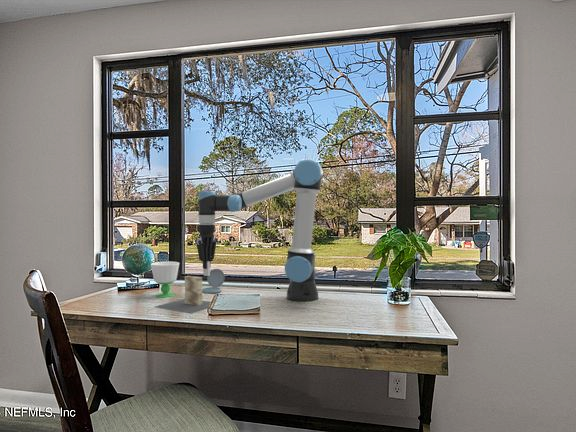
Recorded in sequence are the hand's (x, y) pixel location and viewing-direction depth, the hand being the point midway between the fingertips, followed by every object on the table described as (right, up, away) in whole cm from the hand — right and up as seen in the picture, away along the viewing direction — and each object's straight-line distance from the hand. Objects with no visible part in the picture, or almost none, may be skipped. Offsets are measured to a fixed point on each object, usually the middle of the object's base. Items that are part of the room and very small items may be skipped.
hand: (206, 275), depth 200 cm
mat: (-6, -12, -10) cm, 17 cm away
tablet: (-4, -12, -7) cm, 14 cm away
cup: (-23, -12, +13) cm, 29 cm away
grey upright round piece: (-2, -12, +21) cm, 24 cm away
